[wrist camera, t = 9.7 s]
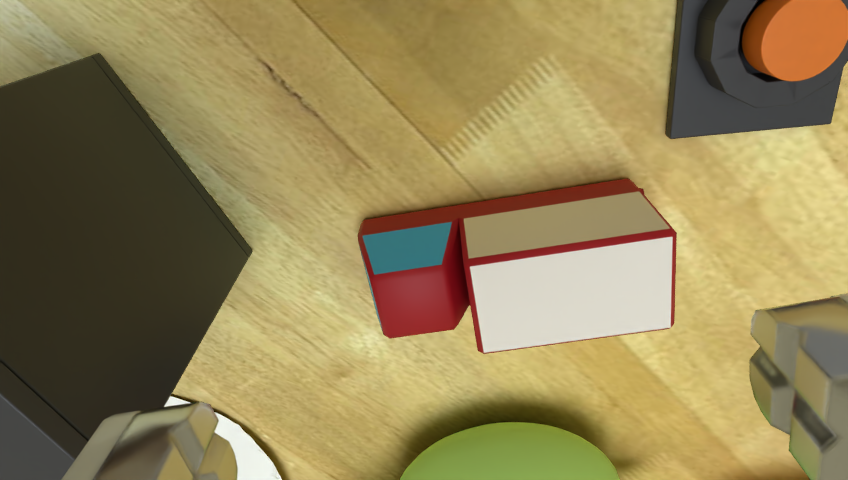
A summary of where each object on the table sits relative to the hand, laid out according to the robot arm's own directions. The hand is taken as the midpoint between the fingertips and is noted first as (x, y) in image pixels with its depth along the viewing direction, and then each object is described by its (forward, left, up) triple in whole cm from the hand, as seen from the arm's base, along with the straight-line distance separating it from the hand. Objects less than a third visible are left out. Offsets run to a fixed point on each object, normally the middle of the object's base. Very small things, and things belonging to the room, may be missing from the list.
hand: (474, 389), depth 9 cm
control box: (+5, +14, -23) cm, 27 cm away
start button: (+5, +14, -21) cm, 26 cm away
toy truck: (+10, -1, -23) cm, 25 cm away
